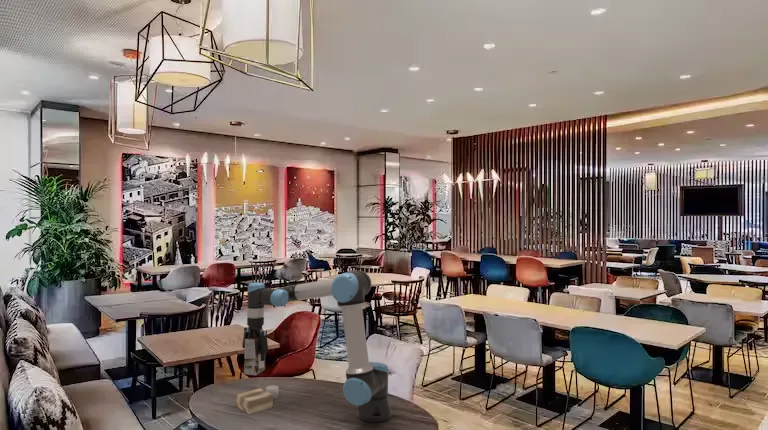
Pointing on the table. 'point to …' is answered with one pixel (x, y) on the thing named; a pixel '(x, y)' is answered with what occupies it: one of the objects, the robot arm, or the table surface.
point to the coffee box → (252, 356)
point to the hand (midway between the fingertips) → (254, 365)
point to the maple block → (254, 400)
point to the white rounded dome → (273, 391)
